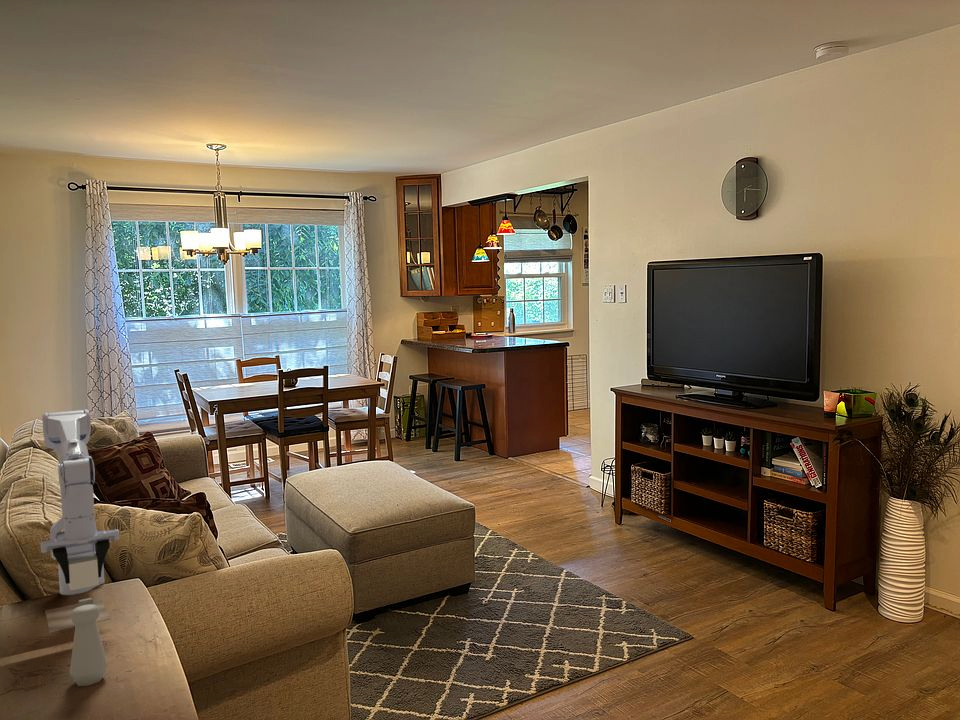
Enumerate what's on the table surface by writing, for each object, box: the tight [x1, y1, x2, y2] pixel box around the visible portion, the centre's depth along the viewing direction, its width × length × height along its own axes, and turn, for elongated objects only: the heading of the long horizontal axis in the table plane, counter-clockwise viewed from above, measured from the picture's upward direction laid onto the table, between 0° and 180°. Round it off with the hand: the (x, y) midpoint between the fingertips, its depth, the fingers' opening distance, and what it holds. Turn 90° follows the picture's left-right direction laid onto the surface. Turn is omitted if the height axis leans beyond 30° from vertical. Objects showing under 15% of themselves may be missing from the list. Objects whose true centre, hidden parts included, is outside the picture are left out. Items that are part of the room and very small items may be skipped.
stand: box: [44, 597, 111, 634], centre depth 156 cm, size 16×11×5 cm
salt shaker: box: [68, 604, 108, 687], centre depth 125 cm, size 6×6×13 cm
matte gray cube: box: [68, 552, 100, 590], centre depth 153 cm, size 5×5×6 cm
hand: (83, 579), depth 153 cm, fingers closed on matte gray cube, 5 cm apart
